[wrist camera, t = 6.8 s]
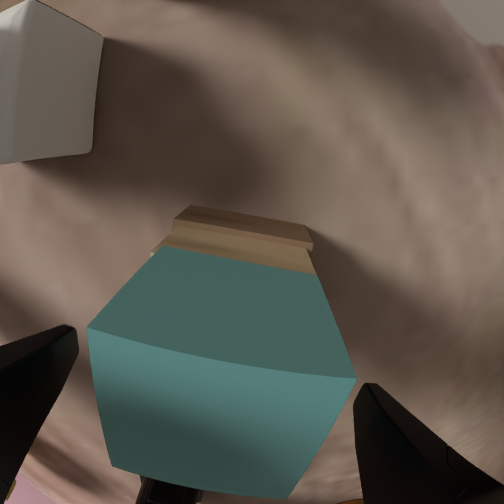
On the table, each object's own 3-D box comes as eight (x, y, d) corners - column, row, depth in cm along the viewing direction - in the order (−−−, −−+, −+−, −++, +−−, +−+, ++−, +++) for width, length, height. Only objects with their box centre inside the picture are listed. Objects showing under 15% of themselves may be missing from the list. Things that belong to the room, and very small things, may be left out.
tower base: (280, 321, 18) (283, 357, 15) (181, 303, 18) (164, 336, 15) (304, 224, 17) (313, 243, 13) (191, 204, 16) (173, 218, 13)
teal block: (280, 389, 12) (286, 499, 7) (155, 366, 11) (111, 466, 7) (317, 274, 10) (357, 378, 5) (162, 245, 10) (86, 327, 5)
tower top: (279, 352, 15) (282, 402, 12) (169, 333, 15) (148, 378, 12) (305, 247, 13) (318, 281, 10) (177, 226, 13) (150, 252, 10)
